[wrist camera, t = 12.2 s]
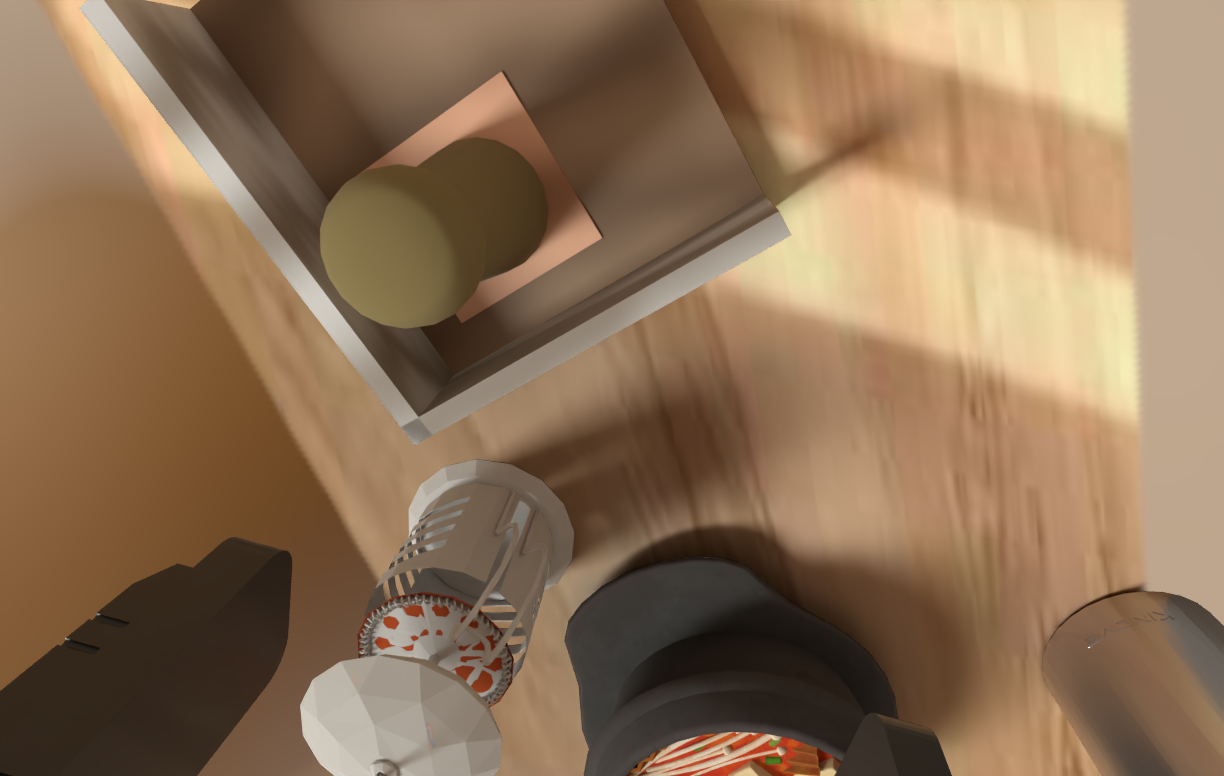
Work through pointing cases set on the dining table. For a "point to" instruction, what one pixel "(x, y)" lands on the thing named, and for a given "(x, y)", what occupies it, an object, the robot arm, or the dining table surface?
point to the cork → (432, 231)
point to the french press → (443, 630)
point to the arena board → (439, 115)
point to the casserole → (715, 676)
